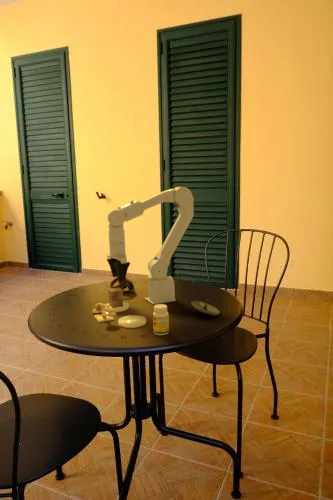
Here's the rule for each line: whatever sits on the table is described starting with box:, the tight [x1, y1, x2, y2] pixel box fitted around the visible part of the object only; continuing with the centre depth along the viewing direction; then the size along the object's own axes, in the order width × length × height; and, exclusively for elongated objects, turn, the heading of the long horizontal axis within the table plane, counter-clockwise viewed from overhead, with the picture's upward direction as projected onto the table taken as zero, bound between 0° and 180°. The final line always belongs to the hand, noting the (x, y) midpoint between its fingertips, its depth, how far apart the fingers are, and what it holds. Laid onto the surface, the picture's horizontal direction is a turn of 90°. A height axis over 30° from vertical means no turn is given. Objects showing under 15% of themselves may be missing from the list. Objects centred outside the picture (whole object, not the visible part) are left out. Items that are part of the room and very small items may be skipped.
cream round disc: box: [117, 314, 147, 329], centre depth 132 cm, size 9×9×1 cm
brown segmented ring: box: [109, 277, 136, 294], centre depth 167 cm, size 12×10×8 cm
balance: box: [92, 302, 117, 323], centre depth 136 cm, size 5×17×6 cm, turn 24°
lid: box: [190, 299, 221, 317], centre depth 139 cm, size 11×10×5 cm
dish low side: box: [105, 301, 130, 313], centre depth 147 cm, size 9×9×1 cm
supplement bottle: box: [152, 303, 170, 336], centre depth 122 cm, size 5×5×8 cm
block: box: [108, 288, 124, 308], centre depth 147 cm, size 4×4×6 cm
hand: (118, 278), depth 151 cm, fingers open, 7 cm apart
